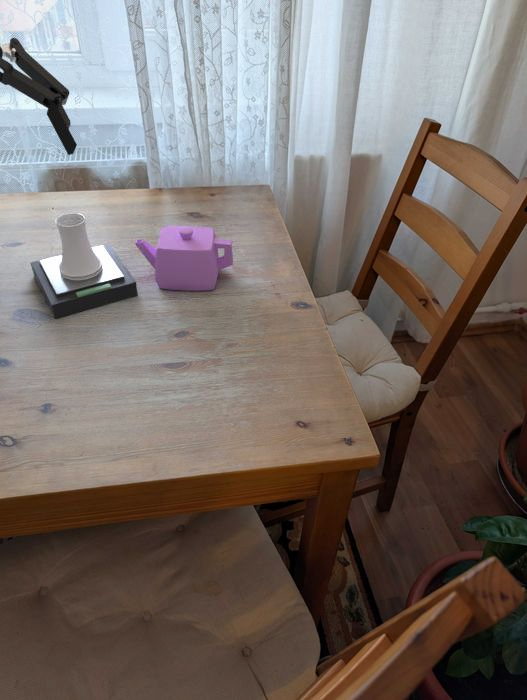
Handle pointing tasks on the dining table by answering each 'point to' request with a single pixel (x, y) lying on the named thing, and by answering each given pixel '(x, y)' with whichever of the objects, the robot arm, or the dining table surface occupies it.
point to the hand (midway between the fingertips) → (27, 161)
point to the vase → (76, 249)
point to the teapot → (187, 257)
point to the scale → (84, 284)
